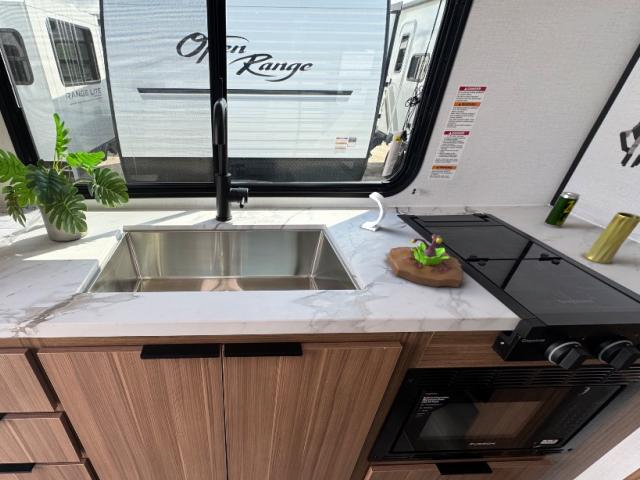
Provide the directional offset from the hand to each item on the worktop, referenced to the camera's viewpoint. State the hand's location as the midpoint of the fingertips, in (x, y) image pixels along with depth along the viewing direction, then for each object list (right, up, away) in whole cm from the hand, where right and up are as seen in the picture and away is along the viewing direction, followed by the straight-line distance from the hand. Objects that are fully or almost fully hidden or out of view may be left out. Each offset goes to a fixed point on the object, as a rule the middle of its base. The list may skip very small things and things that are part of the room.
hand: (627, 166), depth 105 cm
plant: (-73, -35, -11) cm, 82 cm away
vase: (-14, -31, -4) cm, 34 cm away
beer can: (-7, -15, +19) cm, 25 cm away
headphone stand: (-78, -17, +14) cm, 81 cm away
